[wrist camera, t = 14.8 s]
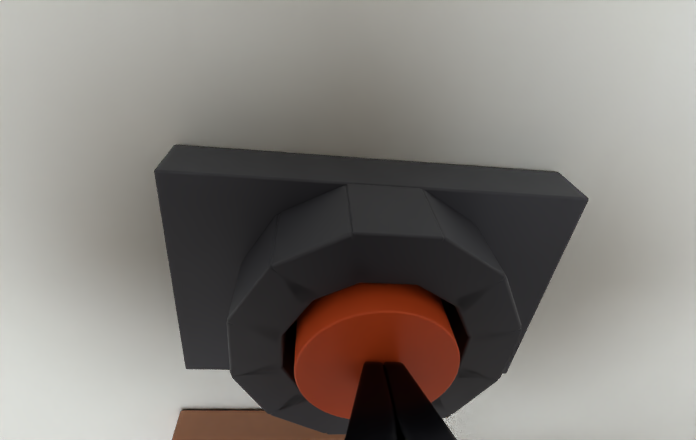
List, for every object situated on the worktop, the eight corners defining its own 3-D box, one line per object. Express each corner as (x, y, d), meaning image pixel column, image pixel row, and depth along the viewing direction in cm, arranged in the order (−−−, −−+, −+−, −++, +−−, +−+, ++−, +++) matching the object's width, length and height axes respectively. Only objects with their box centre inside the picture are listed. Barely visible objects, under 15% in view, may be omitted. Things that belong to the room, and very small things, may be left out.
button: (455, 260, 10) (480, 314, 8) (424, 362, 11) (439, 421, 10) (300, 253, 9) (297, 308, 8) (294, 360, 11) (291, 421, 10)
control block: (558, 171, 11) (647, 247, 8) (490, 338, 14) (534, 434, 11) (173, 143, 10) (113, 220, 7) (197, 331, 13) (163, 436, 10)
